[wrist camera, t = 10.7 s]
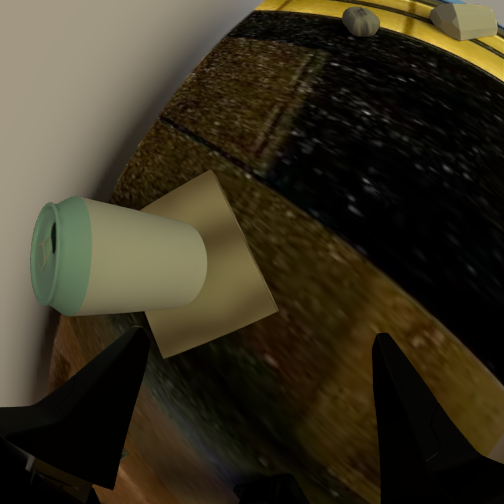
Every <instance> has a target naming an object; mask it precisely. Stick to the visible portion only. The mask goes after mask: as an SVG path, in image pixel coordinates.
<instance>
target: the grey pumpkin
mask: <svg viewBox="0 0 504 504" xmlns="http://www.w3.org/2000/svg"><path fill="white" fill-rule="evenodd" d="M342 21H343V24H344V25H345V27H346V28H347V29H348V30H349V31H350V33H352V35H354V36H363V37H367V36H373V35H375V33H376V31H377V30H378V28H379V26H380V20H379V18H378V17H377V16H376V15H375V14H374V13H373V12H371V11H370V10H368V9H366V8H362V7H351V8H348V9H346V10H345V11H344V12H343V17H342Z"/></svg>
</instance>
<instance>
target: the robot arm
mask: <svg viewBox="0 0 504 504" xmlns="http://www.w3.org/2000/svg"><path fill="white" fill-rule="evenodd" d="M149 348H150V338H149V336H148V334H147V333H146V331H145V329H144V328H143V327H142V326H132V327H131V328H130V329H129V330H127V331H126V332H125V333H124V334H123V335H121V336H120V337H119V338H118V339H117V340H115V341H114V342H113V343H112V344H111V345H109V346H108V347H107V348H106V349H105V350H103V351H102V352H101V353H100V354H99V355H97V356H96V357H95V358H94V359H93V360H91V361H90V362H89V363H88V364H87V365H86V366H84V367H83V368H82V369H81V370H80V371H78V372H77V373H76V375H74V376H72V377H71V378H70V379H69V380H68V381H66V382H65V383H64V384H63V385H62V386H60V387H59V388H58V389H56V390H55V391H53V392H52V393H51V394H49V395H48V396H46V397H45V398H44V399H42V400H41V401H39V402H38V403H36V404H34V405H31V406H24V407H0V504H101V503H100V501H99V499H98V497H97V495H96V493H95V490H94V488H92V485H93V484H96V485H98V486H101V487H104V488H107V489H110V490H113V489H114V486H115V481H116V477H117V472H118V468H119V464H120V460H121V455H122V451H123V447H124V443H125V439H126V435H127V431H128V428H129V424H130V420H131V417H132V413H133V410H134V406H135V403H136V399H137V396H138V393H139V389H140V386H141V383H142V380H143V376H144V372H145V368H146V363H147V358H148V353H149ZM372 364H373V391H374V400H375V408H376V417H377V427H378V439H379V453H380V474H381V504H504V464H502V463H499V462H497V461H494V460H492V459H489V458H487V457H485V456H483V455H481V454H480V453H479V452H477V451H476V450H475V449H474V447H473V446H472V445H471V444H470V443H469V441H468V440H467V439H466V438H465V437H464V435H463V434H462V433H461V432H460V431H459V429H458V428H457V427H456V426H455V425H454V423H453V422H452V421H451V420H450V418H449V417H448V415H447V414H446V412H445V411H444V410H443V408H442V407H441V405H440V404H439V403H437V402H438V401H437V399H436V398H435V396H434V395H433V394H432V392H431V391H430V389H429V388H428V386H427V385H426V384H425V382H424V381H423V379H422V378H421V377H420V375H419V374H418V372H417V371H416V370H415V368H414V367H413V365H412V364H411V363H410V361H409V360H408V359H407V357H406V356H405V355H404V353H403V352H402V351H401V349H400V348H399V347H398V345H397V344H396V343H395V341H394V340H393V339H392V337H391V336H390V335H389V334H388V333H378V334H377V335H376V338H375V341H374V344H373V347H372ZM288 478H290V480H288ZM237 489H239V490H237ZM233 491H234V493H235V494H236V495H237V497H238V498H239V500H240V501H239V504H310V503H309V501H308V500H307V498H306V496H305V495H304V493H303V491H302V490H301V488H300V486H299V485H298V483H297V481H296V480H295V478H294V476H293V475H284V476H281V477H277V478H272V479H266V480H261V481H257V482H251V483H247V484H243V485H237V486H235V487H234V489H233Z"/></svg>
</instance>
